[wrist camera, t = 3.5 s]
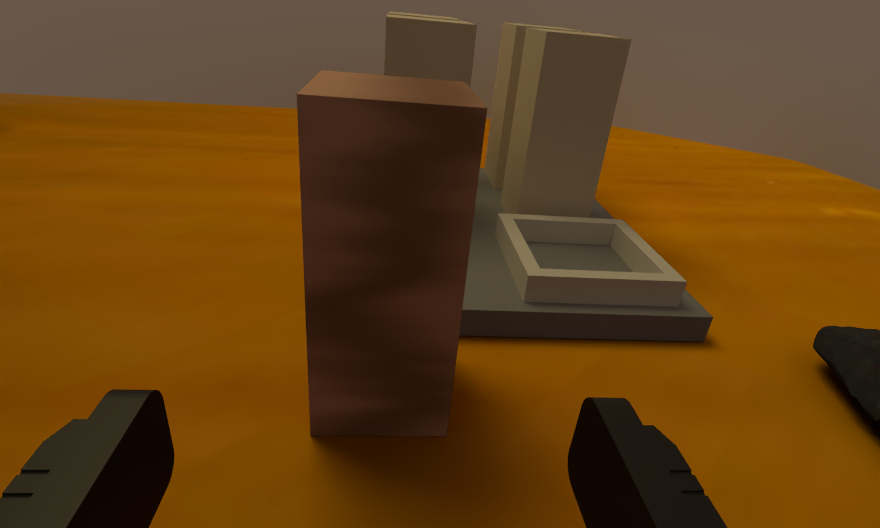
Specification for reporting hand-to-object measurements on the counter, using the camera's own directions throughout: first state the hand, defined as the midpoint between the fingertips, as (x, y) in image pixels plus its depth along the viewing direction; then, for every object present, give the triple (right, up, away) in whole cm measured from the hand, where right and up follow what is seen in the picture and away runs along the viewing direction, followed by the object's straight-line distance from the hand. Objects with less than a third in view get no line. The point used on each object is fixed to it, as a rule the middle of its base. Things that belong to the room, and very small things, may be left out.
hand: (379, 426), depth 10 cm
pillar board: (+4, +5, +26) cm, 27 cm away
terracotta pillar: (-1, -2, +11) cm, 11 cm away
